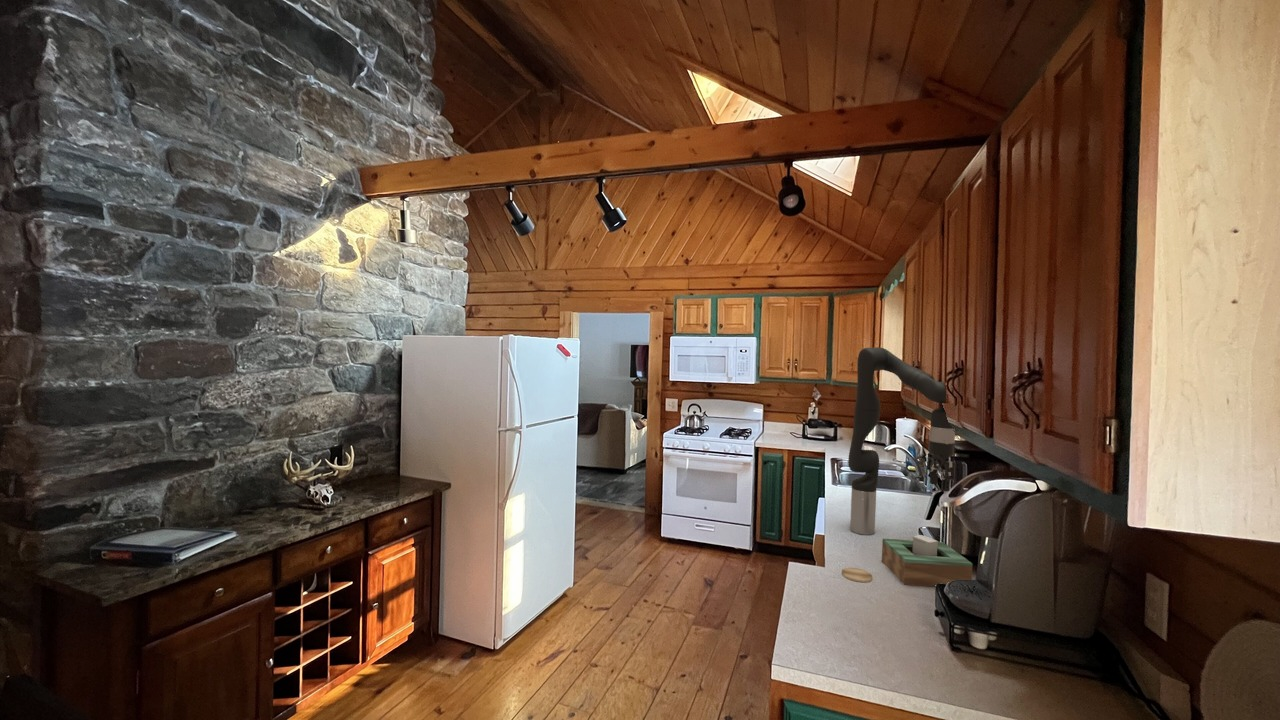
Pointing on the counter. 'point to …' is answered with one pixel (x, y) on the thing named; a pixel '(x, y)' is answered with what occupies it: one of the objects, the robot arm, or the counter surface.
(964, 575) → the caddy
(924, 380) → the robot arm
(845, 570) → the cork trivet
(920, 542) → the skincare box
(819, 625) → the counter surface
